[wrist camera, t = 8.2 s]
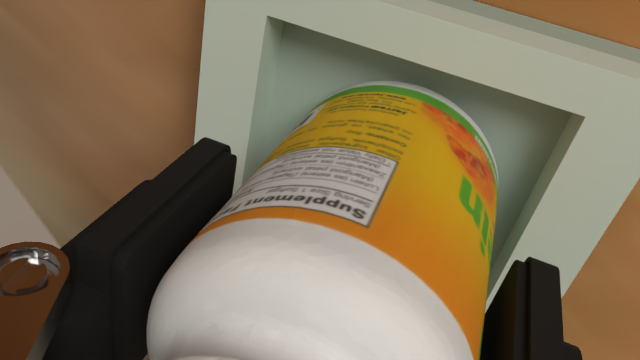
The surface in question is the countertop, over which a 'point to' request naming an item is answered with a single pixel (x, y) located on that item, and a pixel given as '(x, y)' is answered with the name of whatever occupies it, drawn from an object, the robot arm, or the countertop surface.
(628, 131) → the caddy
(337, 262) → the supplement bottle
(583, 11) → the countertop surface
